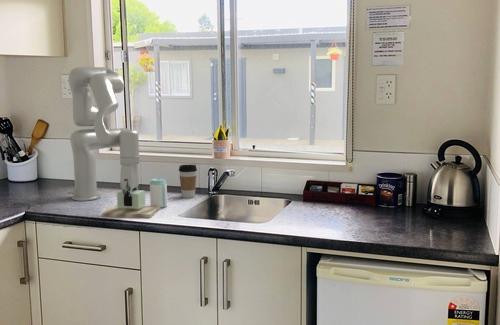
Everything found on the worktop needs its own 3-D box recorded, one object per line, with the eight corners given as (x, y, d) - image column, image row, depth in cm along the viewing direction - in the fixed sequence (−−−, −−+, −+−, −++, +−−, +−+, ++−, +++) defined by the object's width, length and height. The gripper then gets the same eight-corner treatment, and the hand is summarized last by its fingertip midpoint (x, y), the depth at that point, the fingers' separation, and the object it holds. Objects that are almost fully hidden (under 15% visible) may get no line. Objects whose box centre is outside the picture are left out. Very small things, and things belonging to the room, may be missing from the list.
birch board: (101, 216, 218) (101, 212, 218) (114, 208, 232) (114, 204, 232) (150, 218, 216) (150, 214, 216) (160, 209, 230) (160, 206, 230)
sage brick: (117, 207, 221) (117, 193, 220) (124, 203, 228) (124, 189, 227) (138, 208, 219) (138, 194, 218) (145, 204, 226) (144, 190, 225)
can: (147, 206, 235) (146, 179, 233) (160, 204, 240) (160, 177, 238) (157, 209, 230) (156, 181, 228) (170, 206, 235) (169, 179, 233)
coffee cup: (188, 199, 249) (188, 166, 247) (175, 197, 254) (174, 165, 252) (201, 196, 255) (200, 164, 253) (188, 194, 260) (187, 162, 258)
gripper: (128, 157, 230) (129, 198, 232) (112, 163, 213) (114, 208, 215) (145, 157, 229) (146, 199, 232) (131, 164, 212) (133, 208, 215)
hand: (131, 203), depth 223 cm, fingers closed on sage brick, 7 cm apart
